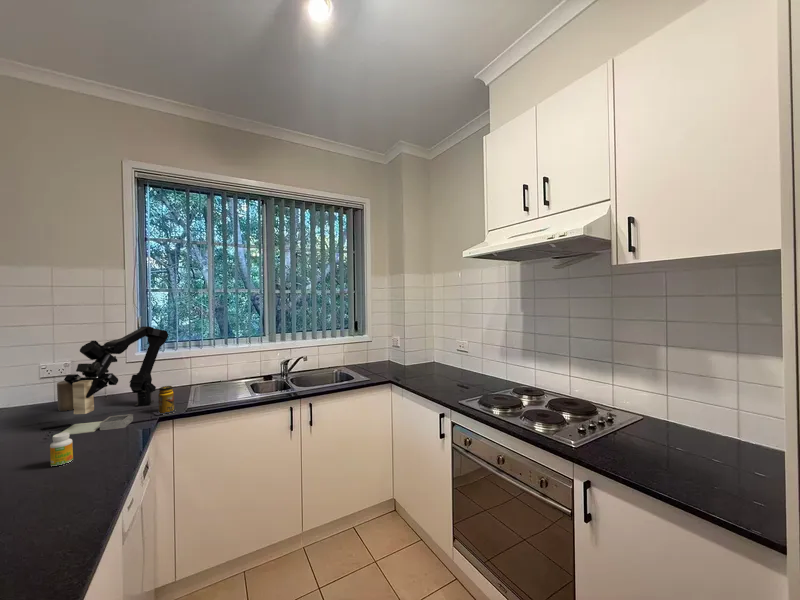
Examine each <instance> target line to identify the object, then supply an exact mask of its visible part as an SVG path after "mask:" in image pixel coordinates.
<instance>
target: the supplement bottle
mask: <svg viewBox="0 0 800 600" xmlns="http://www.w3.org/2000/svg"><path fill="white" fill-rule="evenodd" d="M52 441H53V442H51V443H50V445H49V456H50V457H49V458H50V459H49V460H50V466H51V467H52V466H57V465H62V464H65V463H69V462H71V461H72V460H73V461H74V451H73V450H74V449H73V447H74V445H73V439H72V438H70V435H69V433H68V432H64V433H61V432H59V433H56V434H54V435H53V436H52ZM73 461H72V462H73ZM72 462H71V463H72ZM69 464H70V463H69Z"/></svg>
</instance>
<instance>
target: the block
mask: <svg viewBox="0 0 800 600" xmlns="http://www.w3.org/2000/svg"><path fill="white" fill-rule="evenodd" d="M92 384H93V380H82V381H78V382H75V383H72V385H73V408H74V410H73V415H86V414H89V413H91V412H93V411H94V410H95V399H94V396H95V395H94V394H93V395H92V396H90V397H89V398H86V395H87V393H88V391H89V390H90V388H91V386H92Z"/></svg>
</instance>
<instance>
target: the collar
mask: <svg viewBox="0 0 800 600" xmlns="http://www.w3.org/2000/svg"><path fill="white" fill-rule="evenodd" d="M133 421H134V414H133V413H129V414H119V415H112V416H111V415H110V416H108V417H107V418H105V419H104V420H102V422H101V423H100V428H99V431H108V430H115V429H116V430H117V429H125V428H127V427H128V425H130V424H131V423H132V422H133Z"/></svg>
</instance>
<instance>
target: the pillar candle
mask: <svg viewBox="0 0 800 600" xmlns="http://www.w3.org/2000/svg"><path fill="white" fill-rule="evenodd" d="M56 391H57V392H56V395H57V396H56V397H57V411H58V410H60V411H59V412H68V411H67V410H69V411H74V410H73V409H74V408H73V386H71V385H70V384H69V383H67V382H66V381H65V380H61V381H58V382H56Z"/></svg>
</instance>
